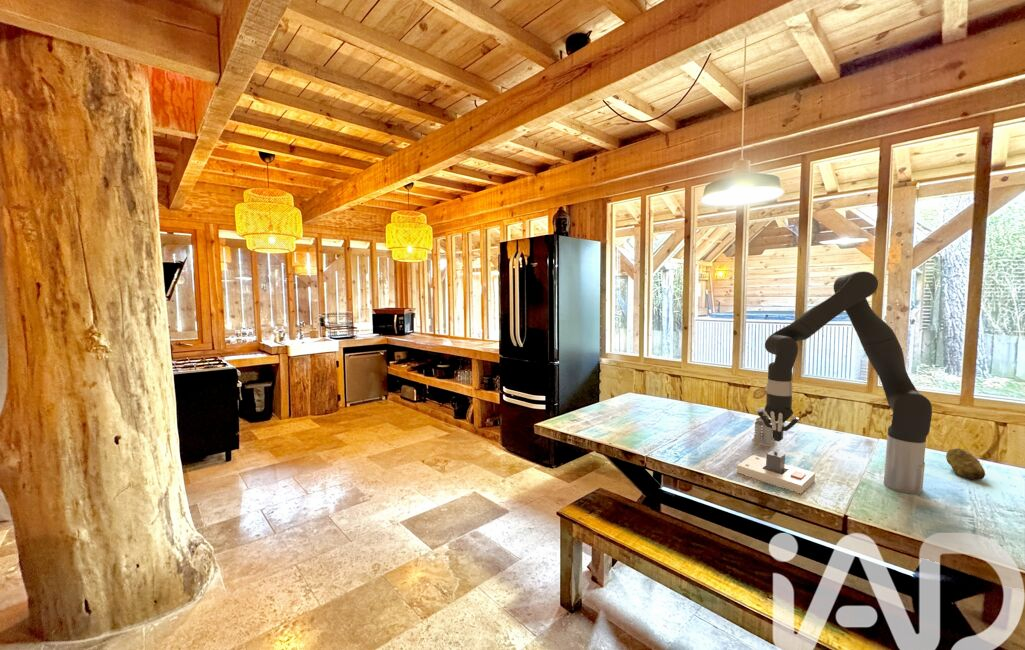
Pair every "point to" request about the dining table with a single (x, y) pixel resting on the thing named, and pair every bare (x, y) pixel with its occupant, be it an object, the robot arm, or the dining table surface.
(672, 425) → the dining table surface
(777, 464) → the plug
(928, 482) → the dining table surface
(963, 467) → the potato
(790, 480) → the socket plate
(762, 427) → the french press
